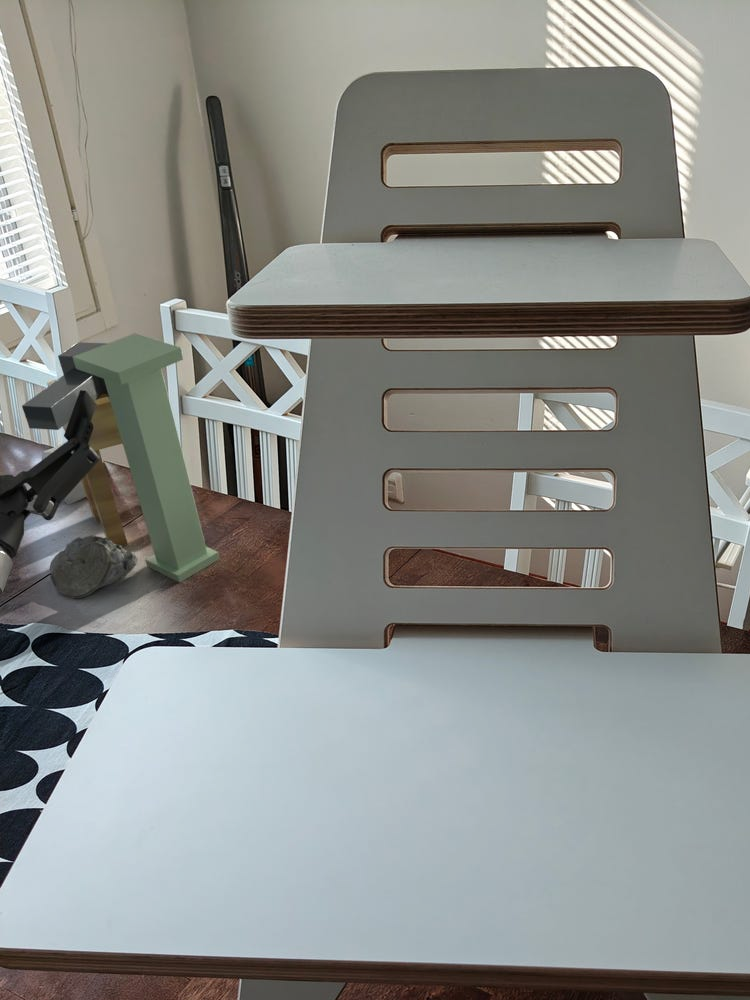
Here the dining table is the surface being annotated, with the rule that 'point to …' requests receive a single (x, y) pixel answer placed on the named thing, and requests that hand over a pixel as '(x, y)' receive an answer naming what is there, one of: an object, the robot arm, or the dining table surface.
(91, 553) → the grey rough chunk
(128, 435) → the shelf stand
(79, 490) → the die
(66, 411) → the t-shaped mallet
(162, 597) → the dining table surface
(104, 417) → the go table
